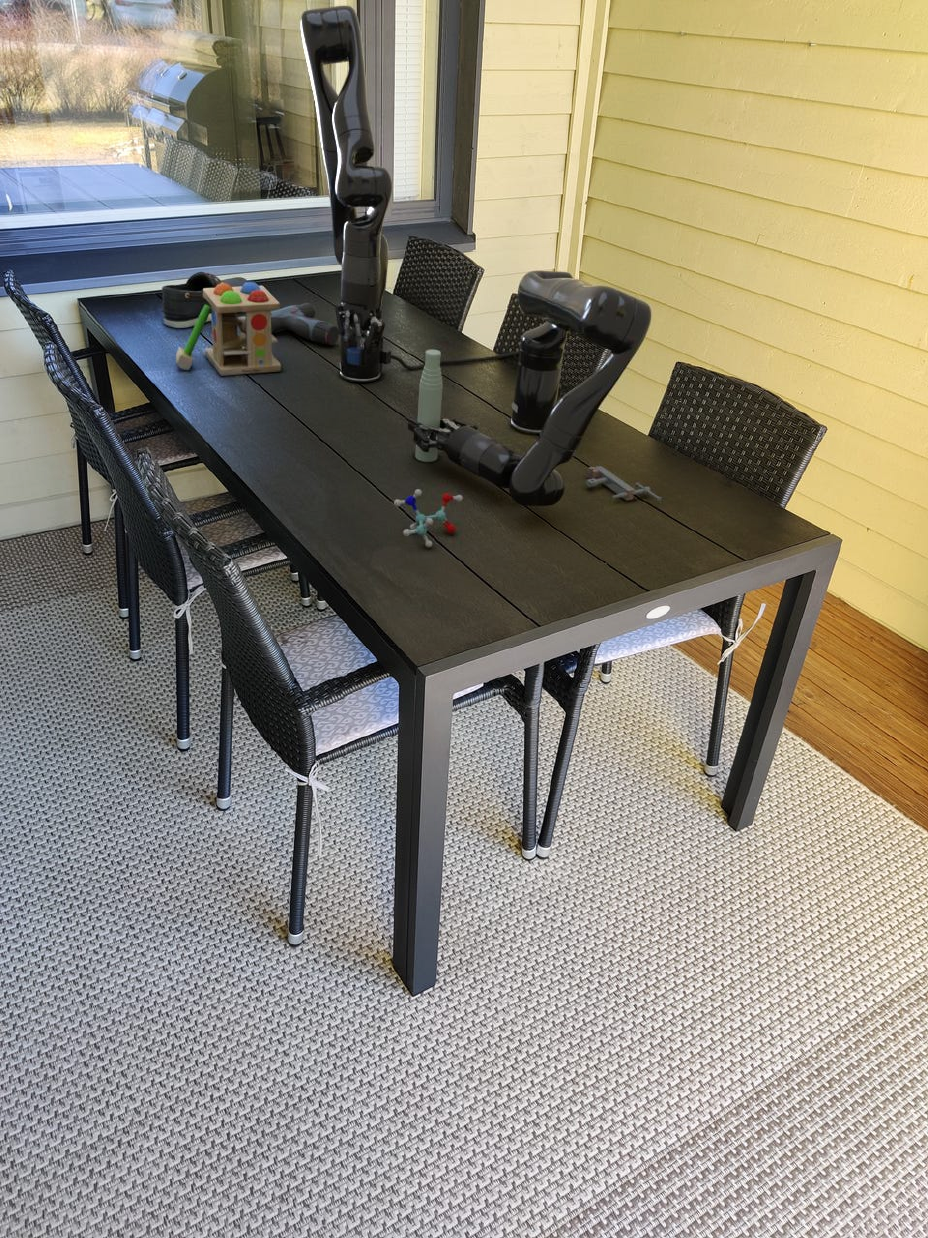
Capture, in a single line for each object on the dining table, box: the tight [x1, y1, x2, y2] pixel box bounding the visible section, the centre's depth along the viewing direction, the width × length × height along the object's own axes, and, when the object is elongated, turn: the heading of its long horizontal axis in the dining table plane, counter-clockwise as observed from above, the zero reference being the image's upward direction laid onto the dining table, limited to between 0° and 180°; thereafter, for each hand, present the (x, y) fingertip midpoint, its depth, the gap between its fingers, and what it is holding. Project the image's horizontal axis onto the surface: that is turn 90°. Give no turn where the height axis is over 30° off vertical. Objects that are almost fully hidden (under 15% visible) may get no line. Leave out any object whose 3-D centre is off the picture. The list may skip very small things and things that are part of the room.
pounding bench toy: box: [174, 281, 282, 377], centre depth 225 cm, size 23×14×18 cm, turn 116°
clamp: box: [585, 465, 663, 503], centre depth 191 cm, size 15×2×10 cm
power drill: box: [271, 302, 340, 346], centre depth 252 cm, size 5×19×20 cm
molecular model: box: [393, 488, 464, 548], centre depth 169 cm, size 12×10×10 cm
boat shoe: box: [160, 271, 249, 329], centre depth 258 cm, size 13×33×10 cm, turn 147°
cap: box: [347, 347, 361, 365], centre depth 200 cm, size 4×4×2 cm
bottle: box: [414, 349, 444, 463], centre depth 192 cm, size 4×4×22 cm
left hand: (357, 362), depth 201 cm, fingers closed on cap, 4 cm apart
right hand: (419, 420), depth 196 cm, fingers closed on bottle, 4 cm apart
